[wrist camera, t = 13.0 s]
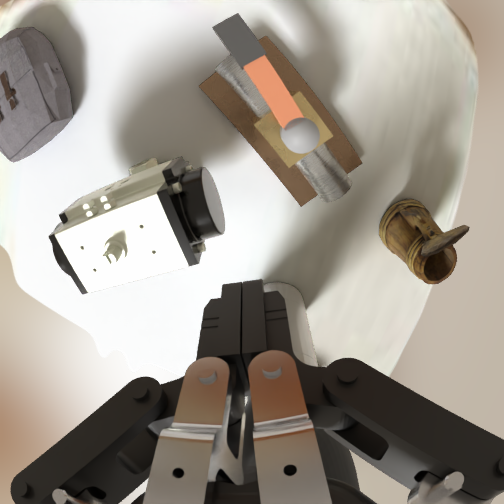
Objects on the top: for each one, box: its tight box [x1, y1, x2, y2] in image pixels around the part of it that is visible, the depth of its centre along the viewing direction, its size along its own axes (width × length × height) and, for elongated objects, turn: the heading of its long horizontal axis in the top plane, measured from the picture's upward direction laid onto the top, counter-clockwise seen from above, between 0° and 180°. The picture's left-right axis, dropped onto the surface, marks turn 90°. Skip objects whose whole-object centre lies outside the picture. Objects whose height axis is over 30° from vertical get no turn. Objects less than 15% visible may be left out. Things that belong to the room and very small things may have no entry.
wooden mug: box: [379, 199, 469, 284], centre depth 34 cm, size 9×14×18 cm, turn 33°
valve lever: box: [212, 13, 320, 154], centre depth 23 cm, size 14×3×3 cm, turn 32°
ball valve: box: [49, 156, 225, 294], centre depth 31 cm, size 18×8×18 cm, turn 106°
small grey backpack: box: [0, 27, 73, 162], centre depth 26 cm, size 15×8×20 cm
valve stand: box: [199, 36, 362, 206], centre depth 31 cm, size 20×10×10 cm, turn 39°
